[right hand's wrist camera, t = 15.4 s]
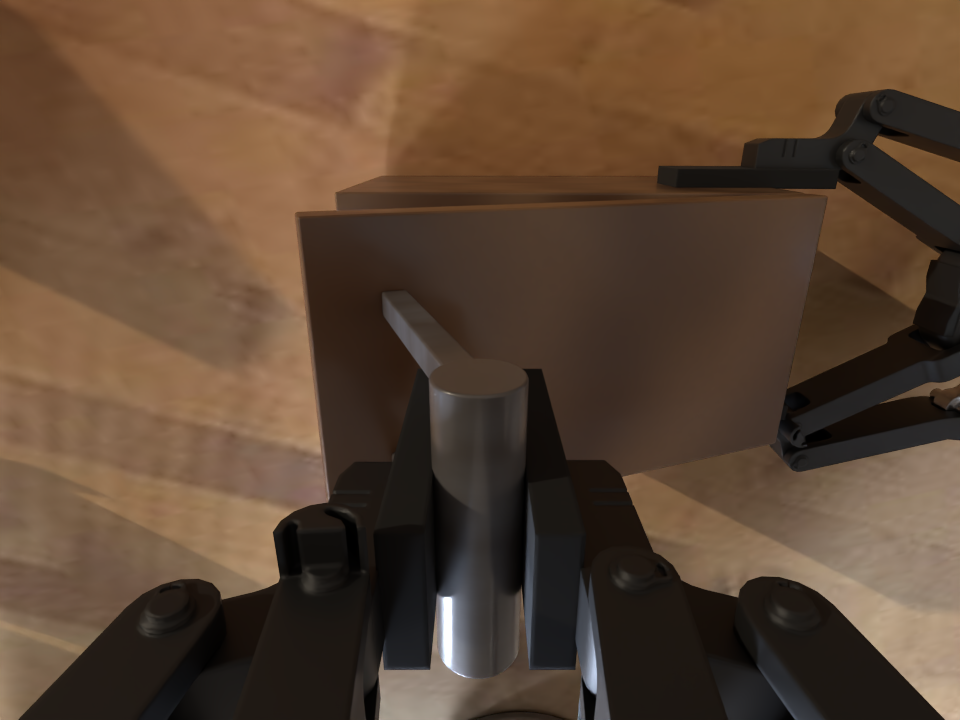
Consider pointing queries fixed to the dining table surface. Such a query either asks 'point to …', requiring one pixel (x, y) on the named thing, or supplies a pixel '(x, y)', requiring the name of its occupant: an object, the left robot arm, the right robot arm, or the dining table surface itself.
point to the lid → (548, 355)
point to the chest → (517, 191)
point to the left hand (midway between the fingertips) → (652, 296)
